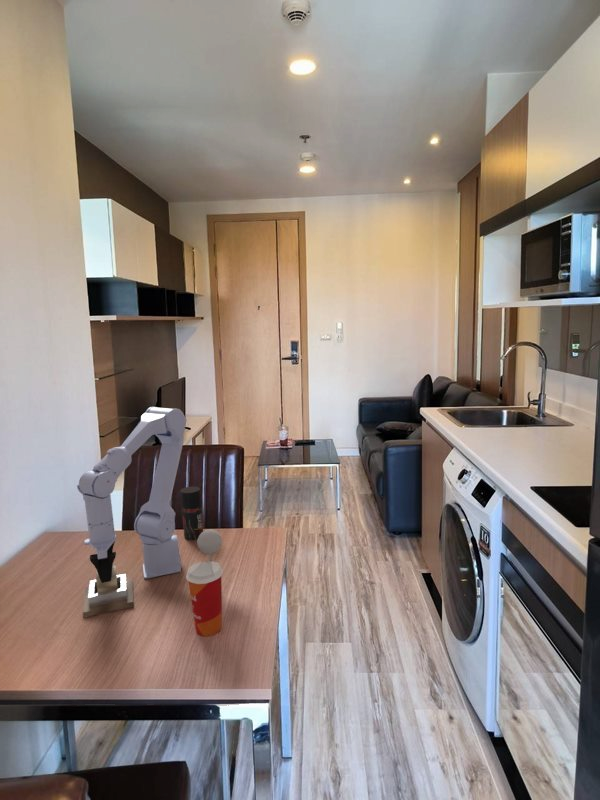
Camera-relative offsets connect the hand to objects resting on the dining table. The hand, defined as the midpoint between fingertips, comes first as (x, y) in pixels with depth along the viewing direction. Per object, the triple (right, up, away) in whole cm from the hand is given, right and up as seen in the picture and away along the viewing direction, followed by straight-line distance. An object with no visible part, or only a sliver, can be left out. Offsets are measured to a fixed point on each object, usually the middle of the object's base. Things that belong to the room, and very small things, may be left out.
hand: (106, 573), depth 122 cm
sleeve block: (0, -5, +1) cm, 5 cm away
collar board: (0, -6, +1) cm, 7 cm away
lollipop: (+25, -5, +4) cm, 26 cm away
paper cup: (+27, -8, -13) cm, 31 cm away
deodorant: (+14, -1, +35) cm, 38 cm away
